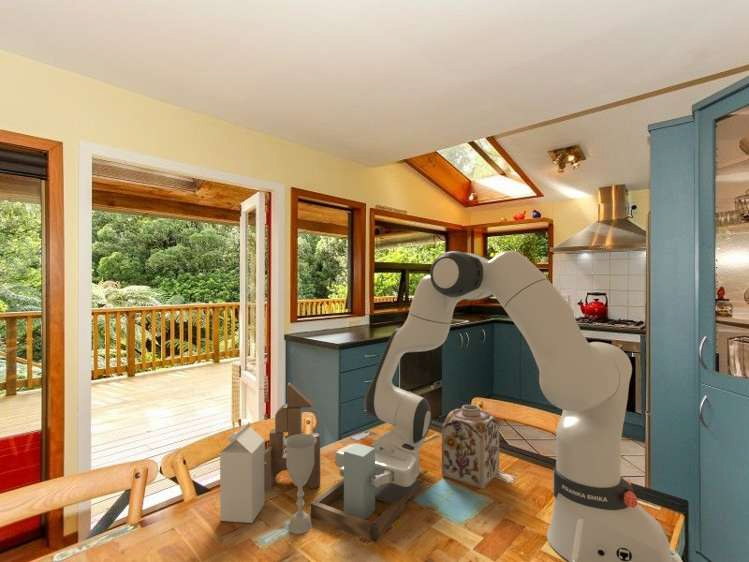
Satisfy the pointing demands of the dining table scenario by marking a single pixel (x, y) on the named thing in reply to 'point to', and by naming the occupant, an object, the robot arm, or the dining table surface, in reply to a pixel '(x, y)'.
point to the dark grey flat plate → (395, 491)
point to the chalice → (300, 475)
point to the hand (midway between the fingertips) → (357, 478)
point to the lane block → (359, 480)
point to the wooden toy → (289, 422)
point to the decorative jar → (470, 446)
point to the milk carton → (242, 476)
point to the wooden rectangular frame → (351, 522)
